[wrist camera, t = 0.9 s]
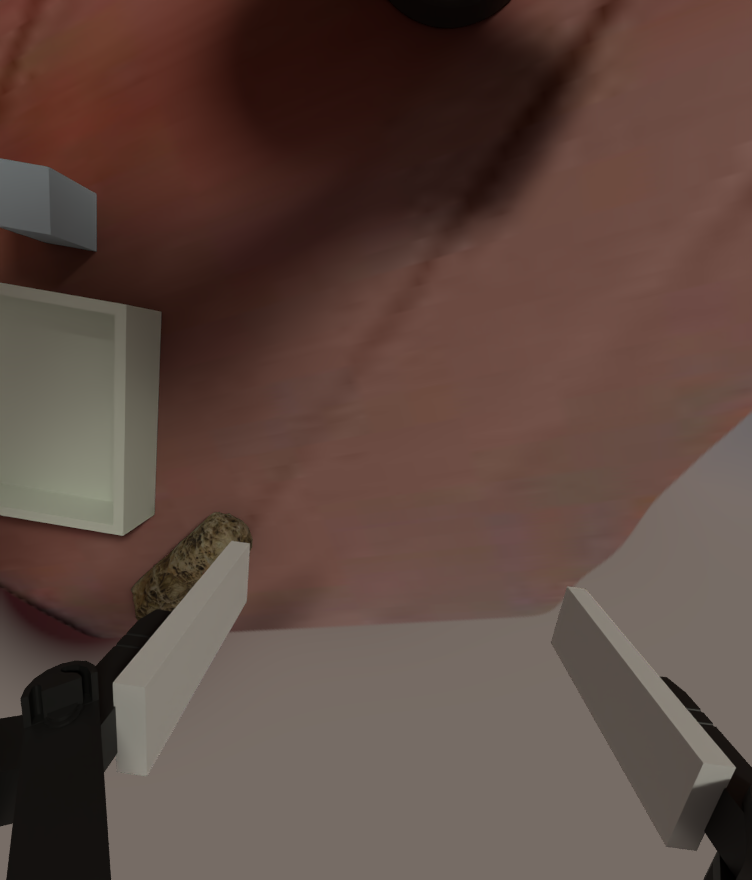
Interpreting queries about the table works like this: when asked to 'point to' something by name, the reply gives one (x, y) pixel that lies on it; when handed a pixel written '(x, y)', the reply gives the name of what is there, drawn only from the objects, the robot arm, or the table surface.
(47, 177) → the slate cube
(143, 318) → the tote
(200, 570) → the coral
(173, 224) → the table surface
